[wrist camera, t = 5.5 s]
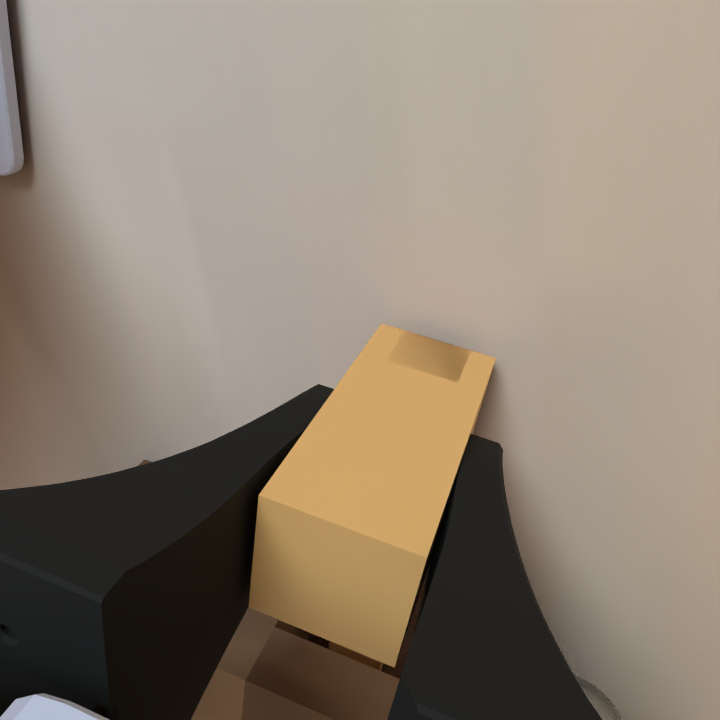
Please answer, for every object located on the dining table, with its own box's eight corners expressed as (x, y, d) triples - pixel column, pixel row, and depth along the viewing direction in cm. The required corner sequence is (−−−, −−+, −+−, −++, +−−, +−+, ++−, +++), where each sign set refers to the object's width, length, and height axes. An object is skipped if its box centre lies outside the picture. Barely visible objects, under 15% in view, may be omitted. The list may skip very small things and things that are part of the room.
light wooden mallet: (314, 673, 22) (224, 875, 17) (381, 323, 15) (258, 495, 10) (389, 705, 21) (318, 923, 16) (495, 358, 14) (426, 557, 9)
